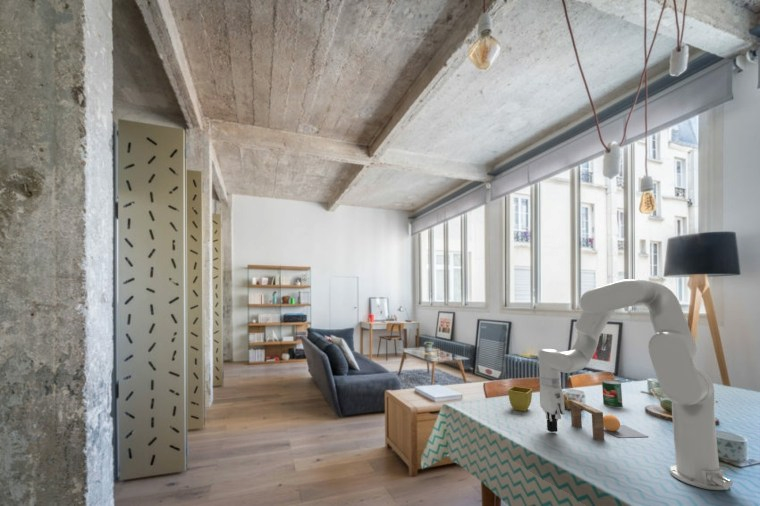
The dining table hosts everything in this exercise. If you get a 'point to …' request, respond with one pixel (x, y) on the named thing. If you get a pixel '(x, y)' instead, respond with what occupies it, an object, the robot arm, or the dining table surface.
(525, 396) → the flower pot
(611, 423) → the ball
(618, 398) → the canned tomato
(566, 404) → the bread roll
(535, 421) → the dining table surface
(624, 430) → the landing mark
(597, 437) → the bridge
